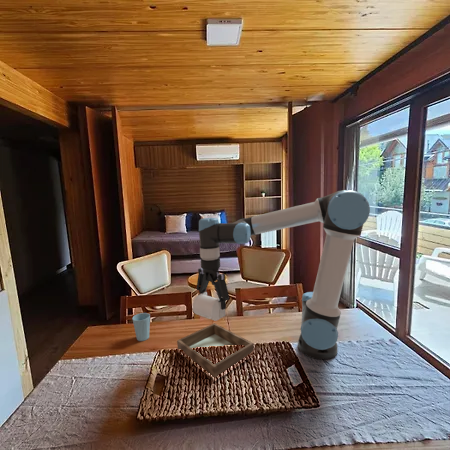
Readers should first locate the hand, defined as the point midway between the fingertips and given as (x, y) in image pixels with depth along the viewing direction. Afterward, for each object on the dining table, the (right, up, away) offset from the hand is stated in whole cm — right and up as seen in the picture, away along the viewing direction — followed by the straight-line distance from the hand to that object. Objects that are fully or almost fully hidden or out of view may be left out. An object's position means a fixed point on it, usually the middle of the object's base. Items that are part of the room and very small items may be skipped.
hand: (213, 312), depth 106 cm
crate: (+1, -18, +2) cm, 18 cm away
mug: (0, -1, 0) cm, 1 cm away
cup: (-33, -18, +17) cm, 41 cm away
